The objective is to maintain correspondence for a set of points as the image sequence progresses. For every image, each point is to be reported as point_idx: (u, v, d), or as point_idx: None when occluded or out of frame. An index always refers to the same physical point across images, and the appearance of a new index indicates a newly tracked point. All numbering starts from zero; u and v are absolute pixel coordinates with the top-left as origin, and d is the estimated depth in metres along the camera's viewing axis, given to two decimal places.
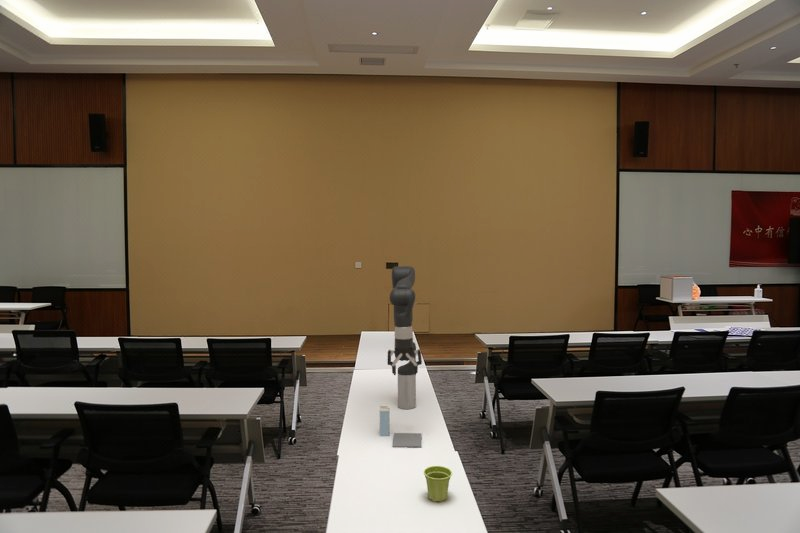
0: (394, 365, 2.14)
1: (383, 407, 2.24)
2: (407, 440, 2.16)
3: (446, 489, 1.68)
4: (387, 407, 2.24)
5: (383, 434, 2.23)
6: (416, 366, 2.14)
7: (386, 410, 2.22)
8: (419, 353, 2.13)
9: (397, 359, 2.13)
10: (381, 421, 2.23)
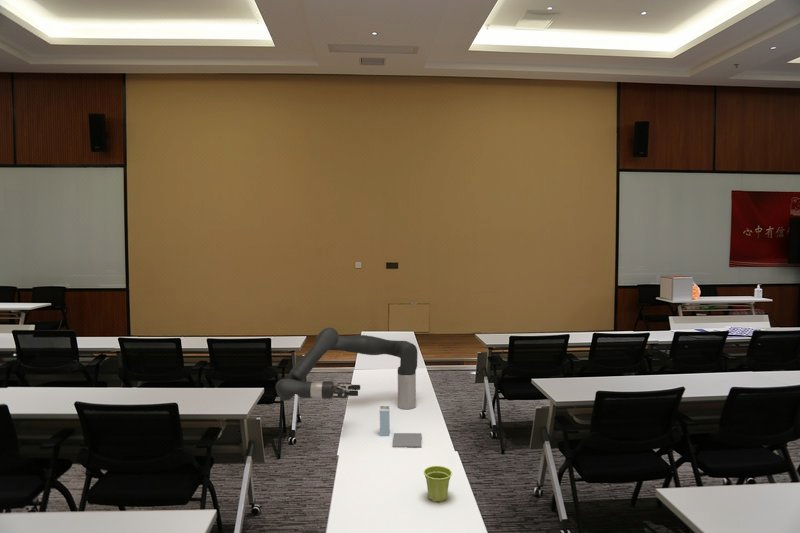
0: (350, 390, 2.28)
1: (383, 407, 2.24)
2: (407, 440, 2.16)
3: (446, 489, 1.68)
4: (387, 407, 2.24)
5: (383, 434, 2.23)
6: None
7: (386, 410, 2.22)
8: None
9: None
10: (381, 421, 2.23)
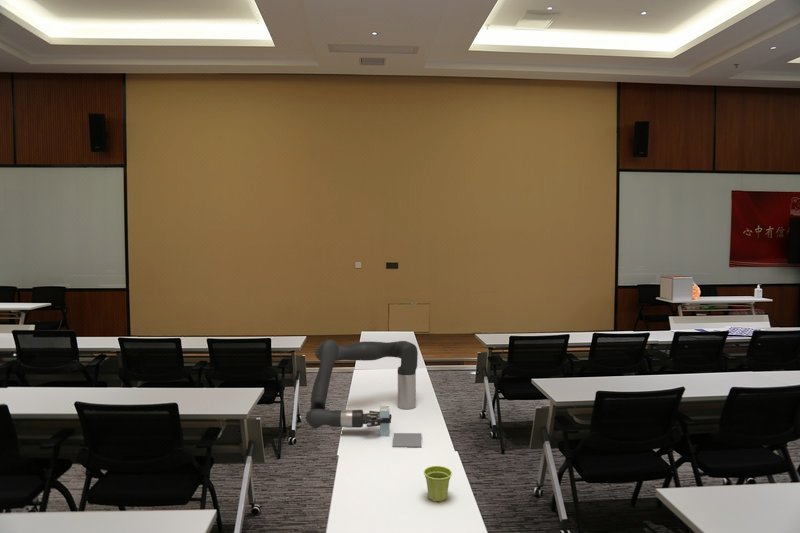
0: None
1: (383, 407, 2.24)
2: (407, 440, 2.16)
3: (446, 489, 1.68)
4: (387, 407, 2.24)
5: (383, 434, 2.23)
6: (382, 422, 2.22)
7: (386, 410, 2.22)
8: None
9: None
10: None
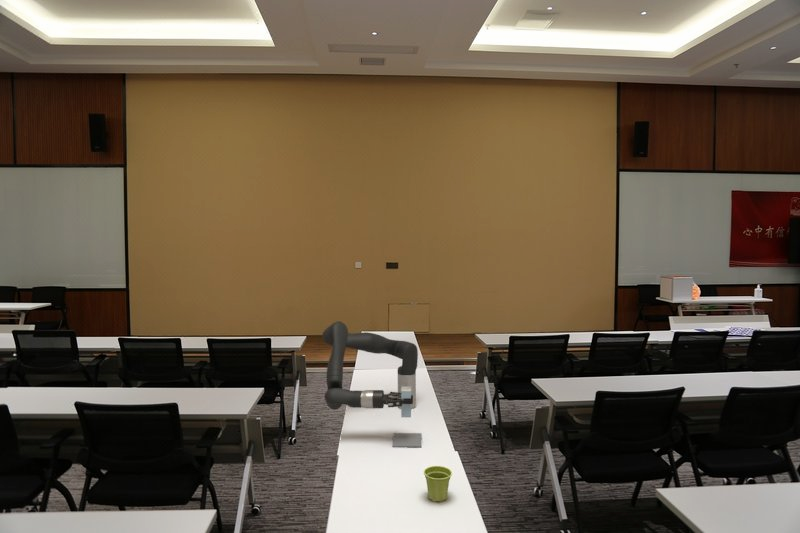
0: None
1: (405, 387, 2.16)
2: (407, 440, 2.16)
3: (446, 489, 1.68)
4: (409, 387, 2.16)
5: (405, 415, 2.15)
6: None
7: (408, 390, 2.14)
8: None
9: None
10: None
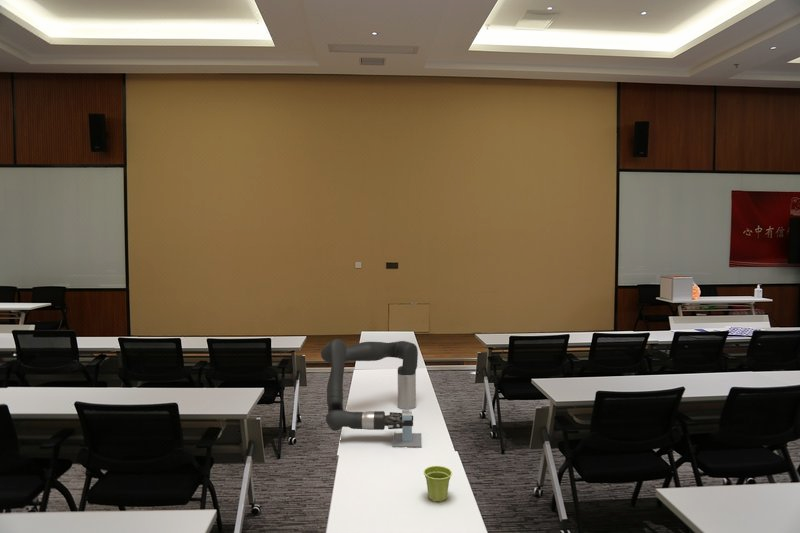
0: None
1: (405, 411, 2.17)
2: None
3: (446, 489, 1.68)
4: (410, 411, 2.17)
5: (406, 439, 2.15)
6: (404, 425, 2.13)
7: (409, 414, 2.15)
8: None
9: None
10: (404, 426, 2.15)
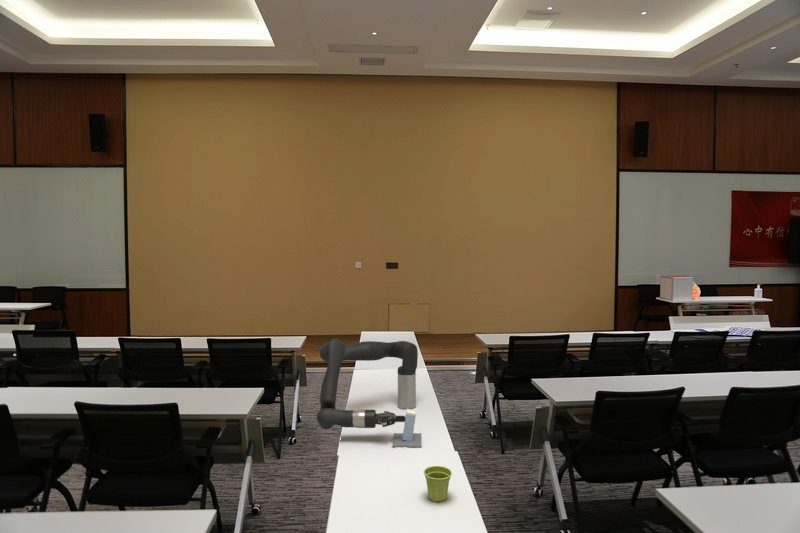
0: None
1: (410, 411, 2.17)
2: None
3: (446, 489, 1.68)
4: (414, 411, 2.17)
5: (406, 438, 2.15)
6: None
7: (413, 414, 2.15)
8: None
9: None
10: (406, 425, 2.15)
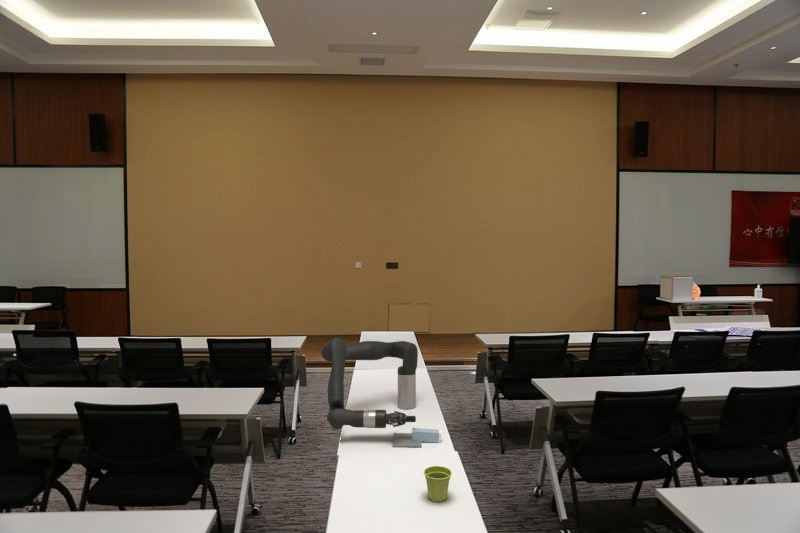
0: None
1: None
2: (407, 440, 2.16)
3: (446, 489, 1.68)
4: None
5: (414, 434, 2.15)
6: (407, 421, 2.16)
7: (439, 440, 2.15)
8: None
9: None
10: (427, 434, 2.15)
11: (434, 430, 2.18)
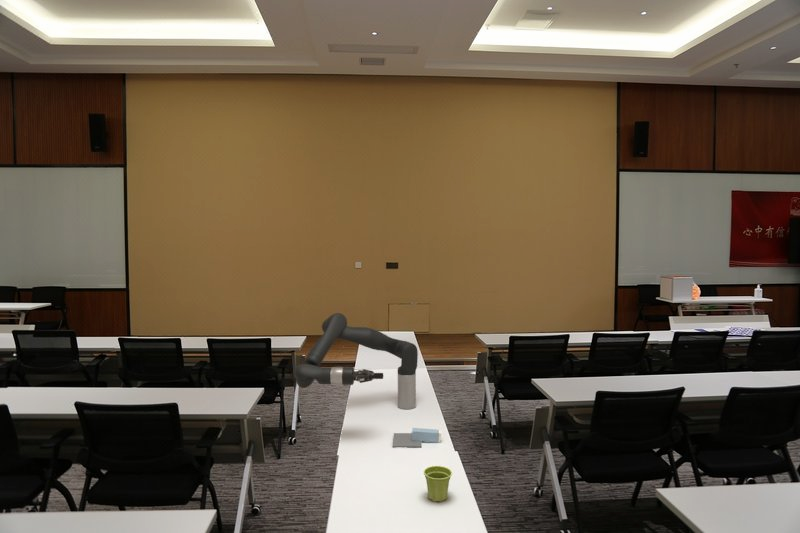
0: None
1: None
2: (407, 440, 2.16)
3: (446, 489, 1.68)
4: None
5: (414, 434, 2.15)
6: (374, 378, 2.15)
7: (439, 440, 2.15)
8: None
9: None
10: (427, 434, 2.15)
11: (434, 430, 2.18)
